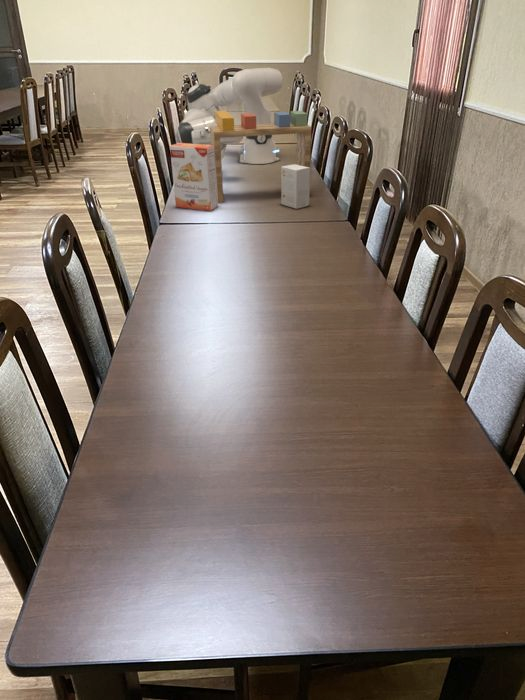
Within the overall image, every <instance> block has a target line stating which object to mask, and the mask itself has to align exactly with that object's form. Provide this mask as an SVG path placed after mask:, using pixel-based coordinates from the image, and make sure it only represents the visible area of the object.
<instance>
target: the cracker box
mask: <svg viewBox="0 0 525 700" xmlns="http://www.w3.org/2000/svg"><path fill="white" fill-rule="evenodd" d="M169 150H170V151H169V152H170V162H171V163H170V164H171V171H172V180H173V181H172V182H173V191H174V192H173V193H174V201H175V203H174V204H175V208H181V209H190V210H196V211H197V210H198V211H206V212H212V211H213V210H214V209H216V208H218V207H219V203H218V200H217V182H216V166H215V150H214V145H203V144H188V143H181V142H177V143H173V144H171V145H169Z"/></svg>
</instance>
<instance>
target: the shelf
mask: <svg viewBox="0 0 525 700" xmlns="http://www.w3.org/2000/svg"><path fill="white" fill-rule="evenodd" d="M295 134H296V165H300V166H305V167H310V168H311V153H312V126H311V125H310V124H309V125H308V124H307V126H298V127H296V126H294V125H292V124H291V123H290V127H278V126H276V125H275V124H274V122H273V123H272V122H271V124H256V129H244V128H243V127H242V126H241V124H234V131H222V130H221V129H220V127H219V126H210V137H211V145H214V150H215V166H216V182H217V200H218V204H220V203H222V204H223V203H224V202H225V201H224V183H223V167H222V160H221V146H220V138H223V137H242V136H243V137H246V136H261V135H272V136H277V135H295ZM310 193H311V192H310ZM310 193H309V196H310V195H311V194H310Z"/></svg>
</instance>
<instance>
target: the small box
mask: <svg viewBox="0 0 525 700" xmlns="http://www.w3.org/2000/svg"><path fill="white" fill-rule="evenodd" d="M280 168H281V171H280V172H281V174H280V175H281V177H280V178H281V179H280V180H281V181H280V182H281V183H280V186H281V187H280V188H281V189H280V190H281V193H280V194H281V195H280V196H281V197H280V203H281V205H282V206H286V207H289V208H292V209H302V208H305V207H309V206H310V195H309V193H311V192H310V191H311V190H310V189H311V188H310V187H311V166H310V167H305V166H300V165H297V163H296V164H295V163H294V164H288V165H287V164H286V165H283V166H281V167H280Z"/></svg>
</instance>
